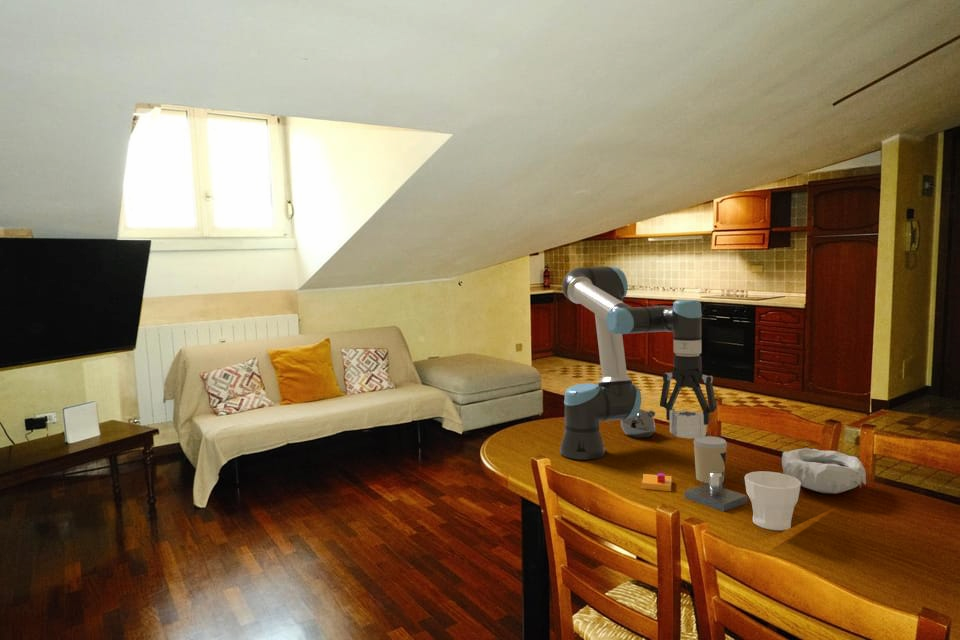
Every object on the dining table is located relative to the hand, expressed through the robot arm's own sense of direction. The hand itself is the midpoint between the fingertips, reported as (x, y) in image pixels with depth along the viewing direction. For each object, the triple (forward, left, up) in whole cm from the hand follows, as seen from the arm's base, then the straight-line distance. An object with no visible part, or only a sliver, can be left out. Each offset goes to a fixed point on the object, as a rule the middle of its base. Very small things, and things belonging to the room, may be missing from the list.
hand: (687, 433), depth 171 cm
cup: (+28, -4, -16) cm, 32 cm away
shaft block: (+11, -2, -16) cm, 19 cm away
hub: (0, 0, 0) cm, 0 cm away
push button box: (-6, -5, -16) cm, 19 cm away
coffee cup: (0, +11, -16) cm, 19 cm away
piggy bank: (-42, +27, -16) cm, 52 cm away
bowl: (+24, +28, -16) cm, 40 cm away
